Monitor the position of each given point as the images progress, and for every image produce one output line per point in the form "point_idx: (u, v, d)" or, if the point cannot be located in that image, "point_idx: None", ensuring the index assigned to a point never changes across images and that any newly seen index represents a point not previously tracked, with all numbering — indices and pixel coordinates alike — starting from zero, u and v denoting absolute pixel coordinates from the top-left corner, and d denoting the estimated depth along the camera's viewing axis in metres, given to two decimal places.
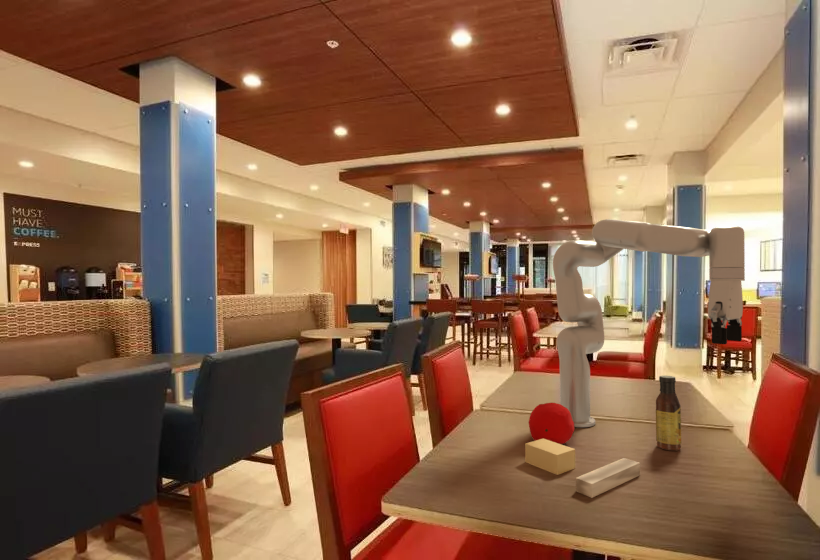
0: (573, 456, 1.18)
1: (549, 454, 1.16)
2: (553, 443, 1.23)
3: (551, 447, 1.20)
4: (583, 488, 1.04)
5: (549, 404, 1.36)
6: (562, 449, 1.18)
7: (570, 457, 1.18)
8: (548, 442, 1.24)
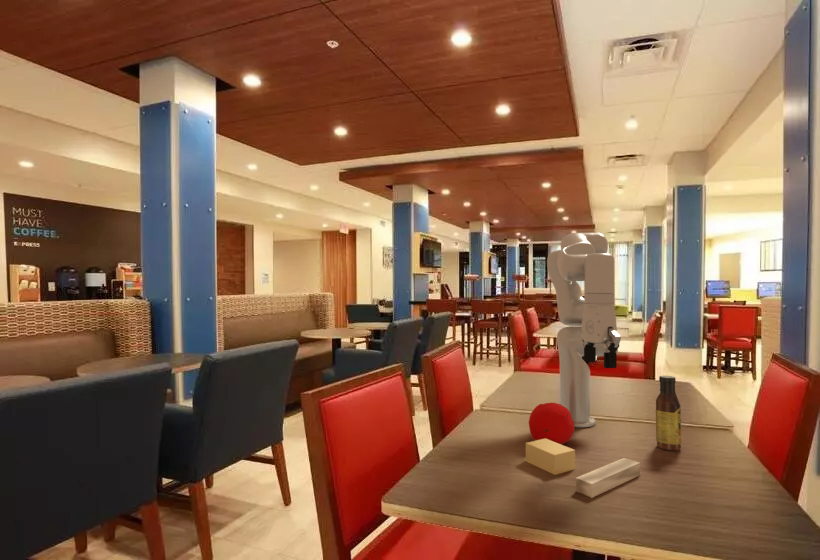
0: (573, 457, 1.18)
1: (547, 453, 1.17)
2: (554, 443, 1.23)
3: (551, 447, 1.20)
4: (583, 488, 1.04)
5: (549, 404, 1.36)
6: (561, 450, 1.18)
7: (569, 458, 1.17)
8: (549, 442, 1.24)
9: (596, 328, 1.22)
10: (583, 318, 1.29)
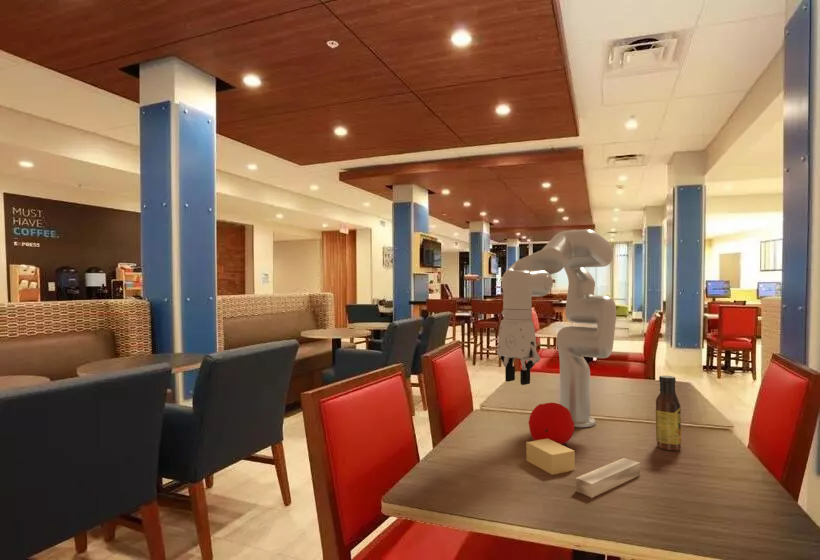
0: (572, 458, 1.17)
1: (545, 453, 1.17)
2: (555, 443, 1.23)
3: (550, 447, 1.20)
4: (583, 488, 1.04)
5: (549, 404, 1.36)
6: (560, 450, 1.18)
7: (568, 458, 1.17)
8: (550, 442, 1.23)
9: (519, 343, 1.25)
10: (501, 333, 1.30)
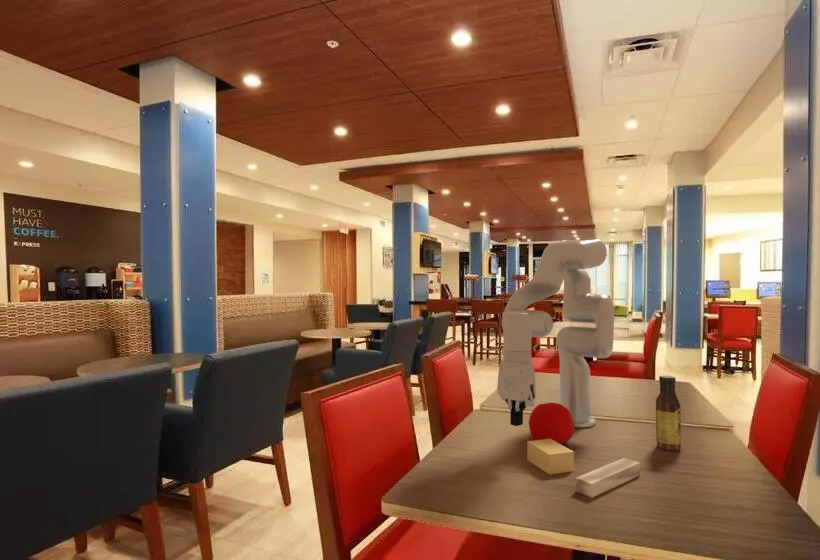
0: (571, 458, 1.17)
1: (544, 453, 1.17)
2: (556, 444, 1.22)
3: (550, 447, 1.20)
4: (583, 488, 1.04)
5: (549, 404, 1.36)
6: (559, 450, 1.18)
7: (567, 459, 1.16)
8: (552, 442, 1.23)
9: (519, 386, 1.25)
10: (500, 374, 1.30)
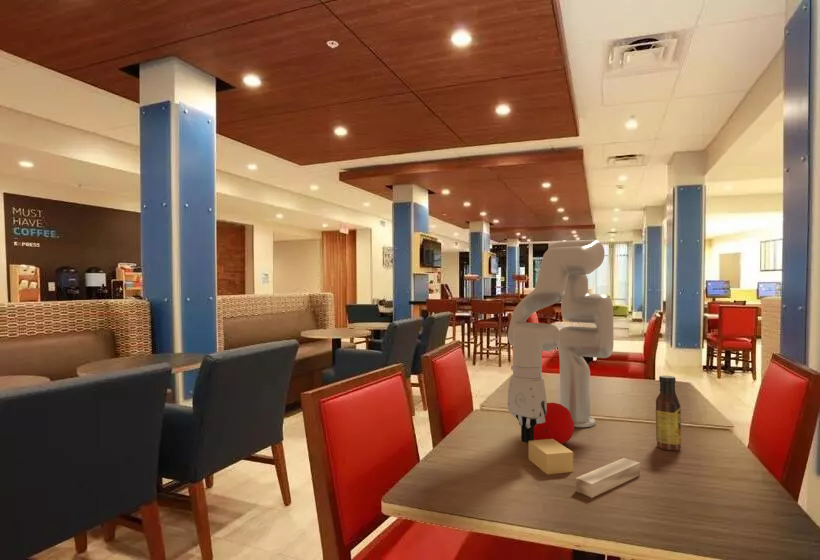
0: (570, 459, 1.16)
1: (542, 452, 1.17)
2: (557, 444, 1.22)
3: (550, 447, 1.20)
4: (583, 488, 1.04)
5: (549, 404, 1.36)
6: (558, 450, 1.17)
7: (566, 459, 1.16)
8: (553, 442, 1.23)
9: (530, 403, 1.22)
10: (510, 390, 1.28)
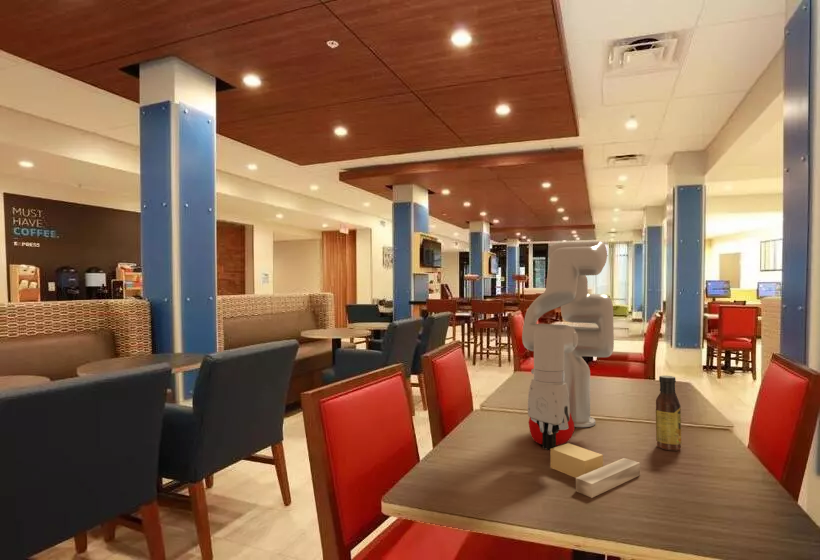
0: (601, 462, 1.14)
1: (576, 459, 1.13)
2: (579, 448, 1.19)
3: (577, 453, 1.16)
4: (583, 488, 1.04)
5: None
6: (589, 455, 1.14)
7: (598, 463, 1.14)
8: (574, 447, 1.20)
9: (552, 408, 1.17)
10: (531, 395, 1.22)
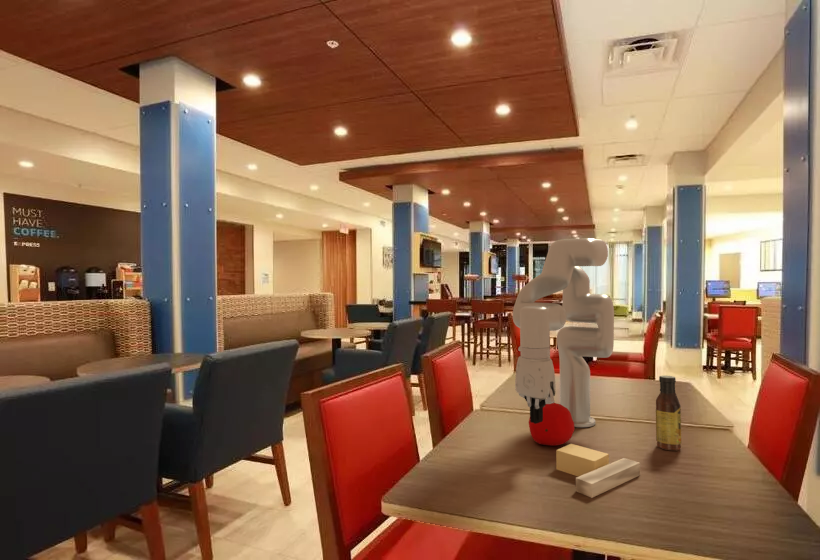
0: (607, 461, 1.15)
1: (585, 460, 1.12)
2: (583, 448, 1.19)
3: (584, 453, 1.16)
4: (583, 488, 1.04)
5: (549, 404, 1.36)
6: (596, 455, 1.14)
7: (605, 462, 1.14)
8: (578, 447, 1.20)
9: (538, 384, 1.21)
10: (518, 371, 1.26)
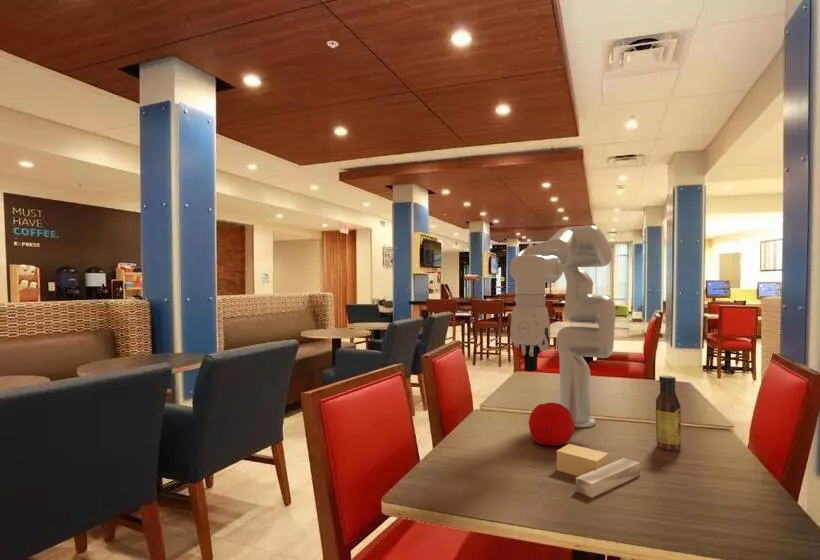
0: (607, 461, 1.15)
1: (587, 460, 1.12)
2: (582, 448, 1.19)
3: (585, 453, 1.16)
4: (583, 488, 1.04)
5: (549, 404, 1.36)
6: (597, 455, 1.15)
7: (605, 462, 1.14)
8: (577, 447, 1.20)
9: (533, 330, 1.21)
10: (513, 320, 1.27)
